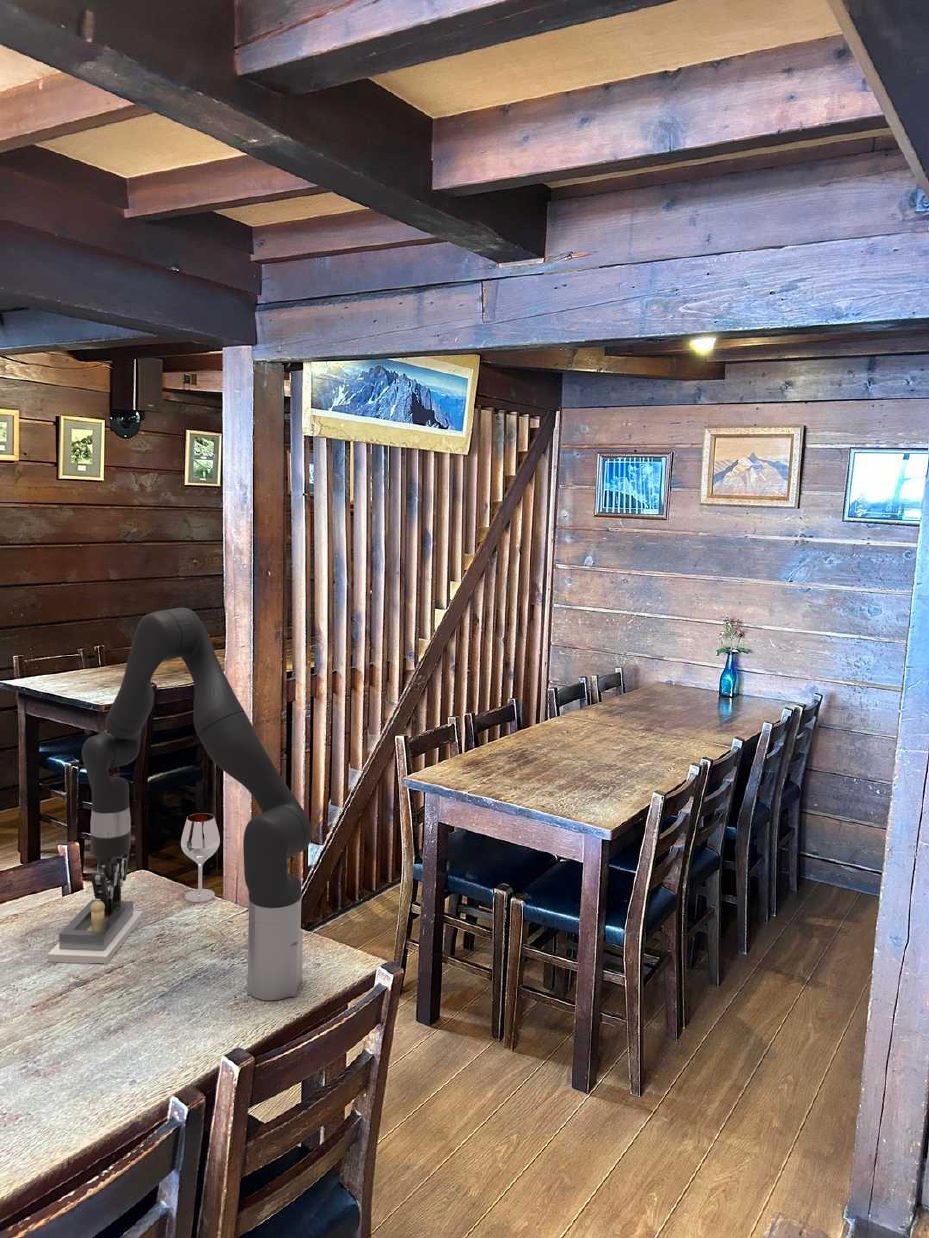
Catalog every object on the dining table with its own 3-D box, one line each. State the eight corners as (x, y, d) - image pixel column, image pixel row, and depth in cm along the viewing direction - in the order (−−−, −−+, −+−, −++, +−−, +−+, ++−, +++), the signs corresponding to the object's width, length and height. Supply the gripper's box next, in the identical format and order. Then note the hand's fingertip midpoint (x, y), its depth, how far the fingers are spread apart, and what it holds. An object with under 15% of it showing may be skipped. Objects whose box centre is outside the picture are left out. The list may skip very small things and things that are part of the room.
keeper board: (142, 917, 186) (142, 882, 185) (106, 964, 167) (106, 924, 166) (90, 915, 186) (89, 879, 185) (47, 961, 167) (47, 922, 166)
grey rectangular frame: (92, 913, 184) (92, 899, 184) (133, 914, 184) (133, 901, 184) (59, 948, 169) (59, 933, 169) (103, 950, 169) (103, 935, 169)
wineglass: (180, 889, 200) (181, 812, 198) (218, 886, 203) (219, 810, 201) (180, 905, 193) (181, 825, 190) (219, 902, 195) (220, 822, 193)
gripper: (115, 843, 174) (115, 926, 176) (141, 818, 188) (141, 895, 190) (76, 841, 174) (77, 925, 176) (106, 816, 188) (106, 894, 190)
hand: (111, 909), depth 183 cm, fingers open, 4 cm apart
